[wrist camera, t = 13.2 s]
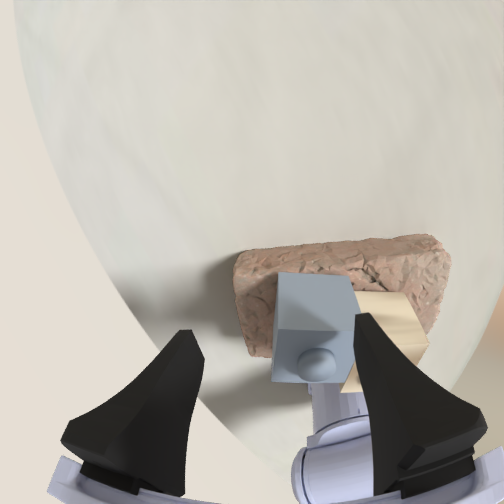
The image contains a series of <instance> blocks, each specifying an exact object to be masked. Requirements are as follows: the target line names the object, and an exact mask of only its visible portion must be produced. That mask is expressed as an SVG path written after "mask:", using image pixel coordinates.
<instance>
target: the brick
mask: <svg viewBox="0 0 504 504" xmlns="http://www.w3.org/2000/svg"><path fill="white" fill-rule="evenodd" d="M450 267H451V257H450V255H449V254H448V253H447V252H445V250H444V249H443V248H442V243H440V242H439V241H437V240H436V239H435V237H434V236H432V235H428V234H422V235H420V234H414V235H406V236H400V237H396V238H393V239H381V238H369V239H365V240H361V241H341V242H327V243H323V244H321V243H315V244H303V245H296V246H285V247H284V246H283V247H275V248H268V249H253V250H247V251H245V252H243V253H241V254H240V255H239V256H238V258H237V260H236V263H235V265H234V268H233V274H234V275H233V287H234V293H235V294H236V299H235V303H236V307H237V312H238V317H239V321H240V325H241V329H242V332H243V336H244V339H245V343H246V346H247V348H248V352H249V354H250V355H251V356H252V357H261V356H262V357H265V358H272V347H273V322H274V313H275V303H276V293H277V283H278V272H289V273H306V274H323V275H342V276H349V278H350V281H351V284H352V287H353V289H354V291H371V292H404V293H405V295H406V297H407V299H408V301H409V302H410V304H411V306H412V308H413V310H414V312H415V314H416V316H417V318H418V320H419V322H420V324H421V326H422V328H423V330H424V332H425V334H426V335H427V334H428V332H429V331H430V330H431V329H432V327H433V324H434V323H435V321H436V320H437V316H438V314H439V312H440V303H441V301H442V299H443V293H444V289H445V288H446V284H447V281H448V277H449V271H450Z"/></svg>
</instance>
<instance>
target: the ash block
mask: <svg viewBox="0 0 504 504" xmlns="http://www.w3.org/2000/svg"><path fill="white" fill-rule="evenodd" d="M354 292H355V295H356V298H357V301H358V304H359V307H360V310H361V313H367V312H369V313H370V314H371V315H372V316H373V318H374V319H375V320H376V322H377V323H378V324H379V326H380V327H381V328H382V329H383V331H384V332H385V333H386V334H387V336H388V337H389V338H390V339H391V340H392V341H393V343H394V344H395V345H396V346H397V347H398V348H399V349H400V350H401V352H402V353H403V354H404V355H405V356H406V357H407V358H408V359H409V360H410V361H411V362H412V363H413V364H414V365H415V366H417V364H418V363H419V361H420V359H421V358H422V356H423V354H424V353H425V351H426V349H427V347H428V346H429V344H430V343H429V340H428V338H427V336H426V334H425V332H424V330H423V328H422V326H421V324H420V322H419V320H418V318H417V316H416V314H415V312H414V310H413V308H412V306H411V304H410V302H409V301H408V299H407V297H406V295H405V293H404V292H371V291H354ZM339 387H340V393H349V392H363V390H362V386H361V382H360V379H359V375H358V371H357V368H356V362H354V364H353V366H352V368H351V371H350V373H349V375H348V377H347V379H346V381H345V383H339Z"/></svg>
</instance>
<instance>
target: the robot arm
mask: <svg viewBox="0 0 504 504" xmlns="http://www.w3.org/2000/svg"><path fill="white" fill-rule="evenodd" d="M353 349H354V356H355V362H356V368H357V371H358V375H359V379H360V382H361V386H362V390H363V392H349V393H340V387H339V383H308V393H309V395H312V409H313V433H314V435H312V436H308V437H307V447H303V448H301V449H300V450H299V452H298V453H297V455H296V457H295V458H294V461H293V464H292V469H291V482H292V488H293V492H294V495H295V497H296V499H297V501H298V502H299V504H497V503H499V502H500V501H502V500H503V499H504V451H503V449H502V446H499V447H497V448H495V449H494V450H492V451H490V452H488V453H486V454H484V455H482V456H480V457H478V458H477V459H475V460H474V461H473V457H472V455H473V454H474V453H475V451H474V447H473V445H474V444H475V443H476V442H477V441H478V440H479V439H480V438H481V437H482V436H483V435H484V434H485V433H486V431H487V428H488V427H487V424H486V421H485V418H484V416H483V414H482V412H481V411H480V409H479V408H478V407H476V406H474V405H472V404H470V403H467V402H466V401H464V400H462V399H460V398H458V397H456V396H455V395H453V394H451V393H450V392H448V391H447V390H446V389H444V388H443V387H441V386H440V385H438V384H437V383H436V382H434V381H433V380H432V379H430V378H429V377H428V376H427V375H426V374H424V373H423V372H422V371H421V370H420V369H419V368H417V367H416V366H415V365H414V364H413V363H412V362H411V361H410V360H409V359H408V358H407V357H406V356H405V355H404V354H403V353H402V352H401V350H400V349H399V348H398V347H397V346H396V345H395V344H394V343H393V341H392V340H391V339H390V338H389V337H388V336H387V334H386V333H385V332H384V331H383V329H382V328H381V327H380V326H379V324H378V323H377V322H376V320H375V319H374V318H373V316H372V315H371V314H370V313H369V312H367V313H361V314H355V326H354V341H353ZM204 360H205V358H204V356H203V354H202V352H201V350H200V348H199V345H198V343H197V341H196V339H195V336H194V334H193V332H192V330H179V331H178V332H177V333H176V334H175V336H174V337H173V338H172V339H171V340H170V341H169V343H168V344H167V345H166V346H165V347H164V348H163V350H162V351H161V352H160V353H159V354H158V355H157V356H156V357H155V359H154V360H153V361H152V362H151V363H150V364H149V365H148V366H147V367H146V368H145V369H144V370H143V371H142V372H141V373H140V374H139V375H138V376H137V377H136V378H135V379H134V380H133V381H132V382H131V383H130V384H129V385H127V386H126V387H125V388H124V389H123V390H121V391H120V392H119V393H117V394H116V395H115V396H113V397H112V398H110V399H109V400H108V401H106V402H105V403H103V404H102V405H100V406H98V407H97V408H95V409H93V410H91V411H89V412H88V413H86V414H84V415H81V416H79V417H77V418H75V419H73V420H70V421H69V423H68V425H67V428H66V429H65V432H64V434H63V436H62V438H61V440H60V441H61V443H62V444H63V445H64V446H65V447H66V448H67V449H68V450H70V451H71V452H72V453H74V454H75V455H77V456H78V457H79V458H81V459H82V460H84V462H83V464H82V465H81V464H80V463H78V462H76V461H74V460H71V459H69V458H67V457H65V456H61V457H60V460H59V462H58V464H57V467H56V469H55V472H54V474H53V477H52V479H51V482H50V484H49V487H48V490H47V492H48V493H49V494H51V495H52V496H54V497H55V498H57V499H59V500H60V501H62V502H64V503H65V504H218V503H211V502H204V501H197V500H191V499H185V498H180V497H181V496H183V495H184V494H185V464H186V451H187V441H188V434H189V427H190V422H191V417H192V413H193V410H194V406H195V402H196V398H197V395H198V392H199V388H200V384H201V381H202V376H203V369H204Z"/></svg>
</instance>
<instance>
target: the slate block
mask: <svg viewBox="0 0 504 504" xmlns="http://www.w3.org/2000/svg"><path fill="white" fill-rule="evenodd" d="M355 314H361V310H360V307H359V304H358V301H357V298H356V295H355V292H354V289H353V287H352V284H351V281H350V278H349V276H342V275H323V274H306V273H289V272H278V283H277V293H276V303H275V313H274V322H273V347H272V371H271V382H289V383H345V381H346V379H347V377H348V375H349V373H350V371H351V368H352V366H353V364H354V362H355V356H354V349H353V341H354V326H355Z"/></svg>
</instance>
